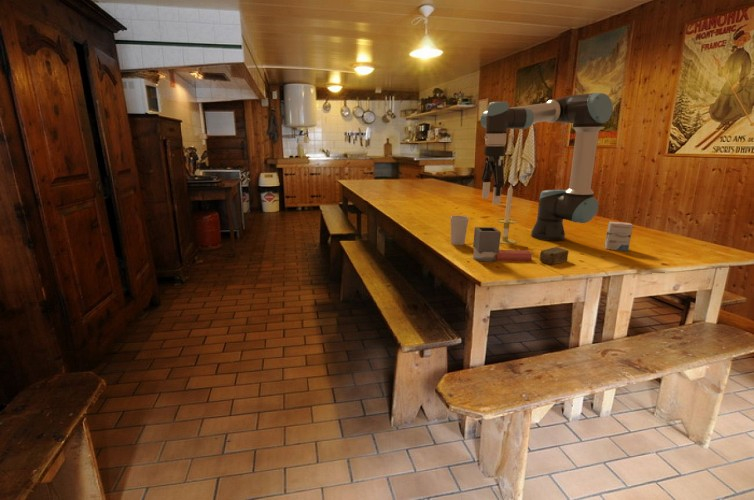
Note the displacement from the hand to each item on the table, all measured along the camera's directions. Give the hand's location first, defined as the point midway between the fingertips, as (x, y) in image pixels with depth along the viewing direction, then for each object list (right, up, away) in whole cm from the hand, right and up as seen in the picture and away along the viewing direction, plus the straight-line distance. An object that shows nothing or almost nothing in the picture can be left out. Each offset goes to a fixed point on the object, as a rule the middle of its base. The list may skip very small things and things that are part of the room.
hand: (490, 201), depth 157 cm
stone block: (+25, -24, +1) cm, 35 cm away
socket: (-1, -19, +2) cm, 19 cm away
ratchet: (+5, -23, +3) cm, 24 cm away
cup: (-8, -16, +25) cm, 31 cm away
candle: (+15, -15, +29) cm, 36 cm away
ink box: (+61, -19, +20) cm, 67 cm away
